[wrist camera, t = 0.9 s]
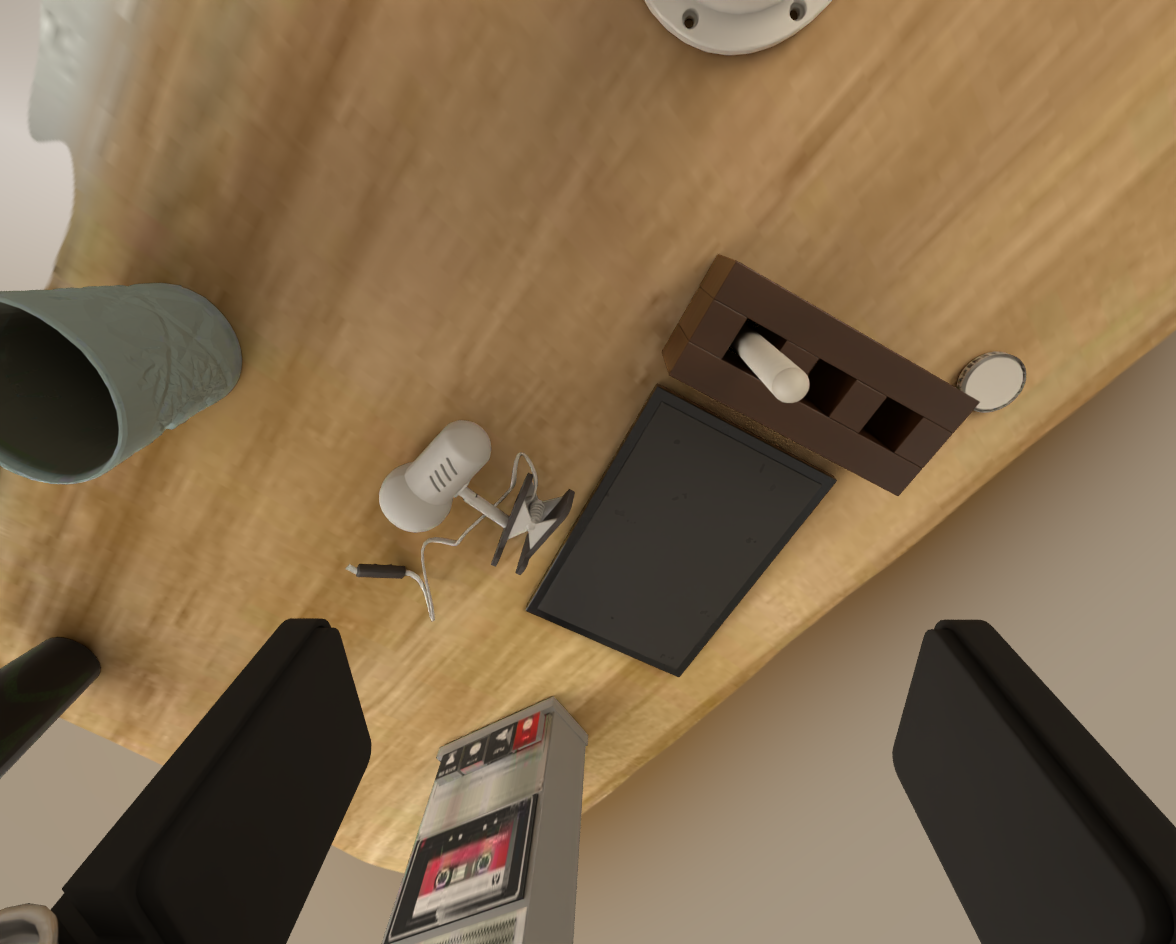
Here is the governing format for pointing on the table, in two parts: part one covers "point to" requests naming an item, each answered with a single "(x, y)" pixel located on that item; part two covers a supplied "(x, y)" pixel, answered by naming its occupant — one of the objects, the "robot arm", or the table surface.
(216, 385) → the embossed green tumbler
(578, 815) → the upright grey box
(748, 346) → the stylus
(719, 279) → the pen rack
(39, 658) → the cup
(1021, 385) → the white flat rimmed disc
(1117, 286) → the table surface
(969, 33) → the table surface
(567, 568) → the tablet
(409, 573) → the clip-on lamp
